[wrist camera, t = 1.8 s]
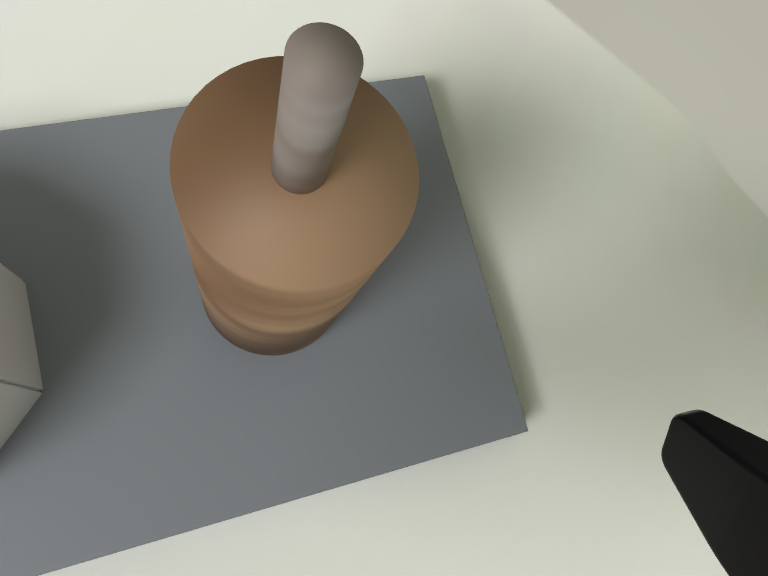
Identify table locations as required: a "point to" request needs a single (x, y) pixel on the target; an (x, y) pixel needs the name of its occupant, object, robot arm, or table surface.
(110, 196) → the tool board
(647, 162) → the table surface
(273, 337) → the brown tall cylinder
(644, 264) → the table surface
